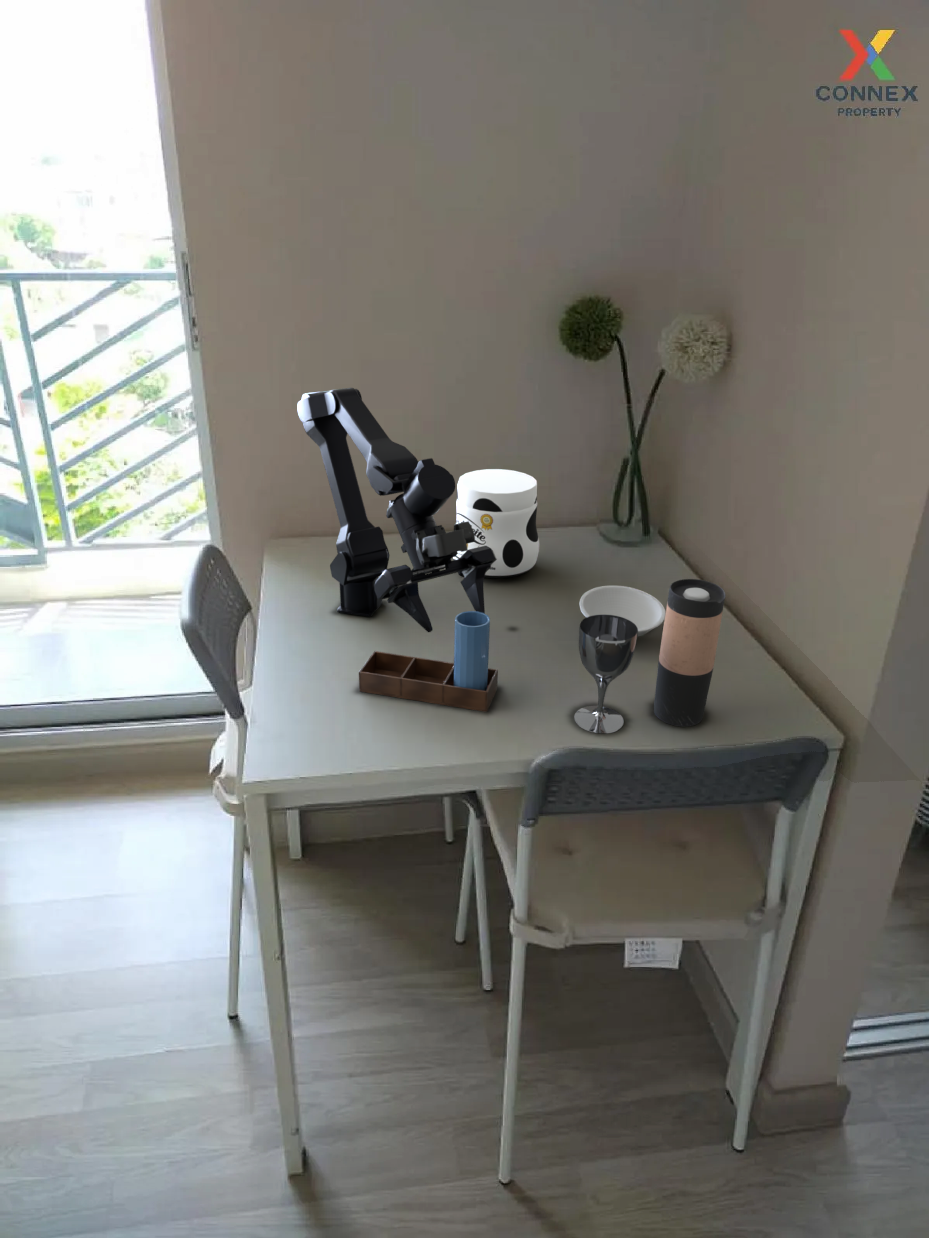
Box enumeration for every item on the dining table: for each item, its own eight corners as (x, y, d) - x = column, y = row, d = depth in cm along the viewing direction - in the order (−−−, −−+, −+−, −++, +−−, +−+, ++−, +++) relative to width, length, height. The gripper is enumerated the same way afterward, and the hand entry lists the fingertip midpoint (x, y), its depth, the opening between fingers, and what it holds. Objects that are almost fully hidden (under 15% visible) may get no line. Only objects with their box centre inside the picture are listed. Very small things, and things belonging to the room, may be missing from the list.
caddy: (359, 691, 132) (358, 671, 130) (375, 669, 138) (374, 650, 136) (486, 712, 128) (487, 692, 126) (497, 688, 133) (498, 669, 132)
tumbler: (447, 696, 130) (448, 621, 124) (463, 681, 134) (465, 608, 128) (477, 705, 128) (480, 629, 122) (492, 689, 132) (495, 615, 126)
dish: (572, 609, 158) (574, 584, 156) (651, 611, 158) (654, 586, 156) (583, 657, 143) (585, 630, 140) (671, 659, 143) (675, 632, 140)
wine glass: (613, 741, 122) (624, 646, 115) (561, 723, 125) (569, 631, 118) (635, 715, 128) (646, 623, 121) (585, 698, 131) (594, 609, 124)
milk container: (437, 576, 170) (437, 487, 162) (470, 545, 185) (472, 463, 177) (521, 592, 165) (525, 501, 156) (549, 559, 179) (554, 474, 171)
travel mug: (645, 699, 131) (662, 578, 122) (695, 698, 132) (715, 577, 123) (660, 728, 125) (678, 602, 116) (712, 727, 125) (734, 601, 116)
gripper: (381, 517, 121) (423, 619, 118) (491, 495, 130) (532, 589, 127) (357, 551, 130) (395, 646, 127) (461, 527, 140) (499, 616, 137)
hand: (457, 623), depth 129 cm, fingers open, 9 cm apart
